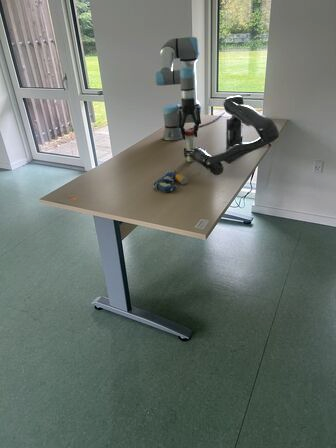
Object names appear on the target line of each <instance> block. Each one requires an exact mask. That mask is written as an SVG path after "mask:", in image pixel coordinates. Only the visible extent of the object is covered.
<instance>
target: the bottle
mask: <svg viewBox="0 0 336 448" xmlns="http://www.w3.org/2000/svg"><path fill="white" fill-rule="evenodd" d="M194 137H195V136H194V135H193V136H186V135H185V148H186V149H188V150H194V147H195V139H194ZM186 161H187V162H188V163H189V162H191V163H192V162H195V160H193V158H192V157H190V156H188V157H187V158H186Z"/></svg>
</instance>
